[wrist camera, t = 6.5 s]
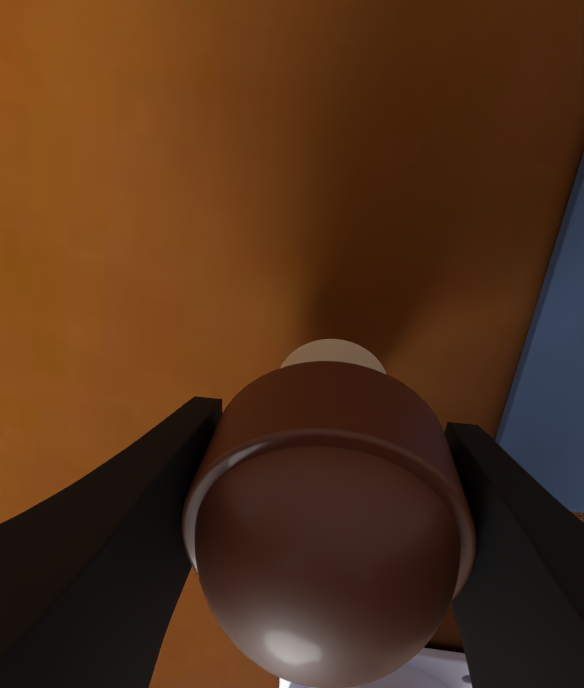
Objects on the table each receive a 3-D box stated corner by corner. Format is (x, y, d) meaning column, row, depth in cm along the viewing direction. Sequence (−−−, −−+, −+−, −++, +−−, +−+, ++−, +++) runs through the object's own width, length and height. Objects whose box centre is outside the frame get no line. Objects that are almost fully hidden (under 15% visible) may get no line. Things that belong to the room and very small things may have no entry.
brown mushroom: (408, 468, 13) (467, 783, 6) (243, 450, 13) (152, 732, 7) (440, 312, 10) (574, 560, 4) (243, 296, 11) (111, 504, 5)
